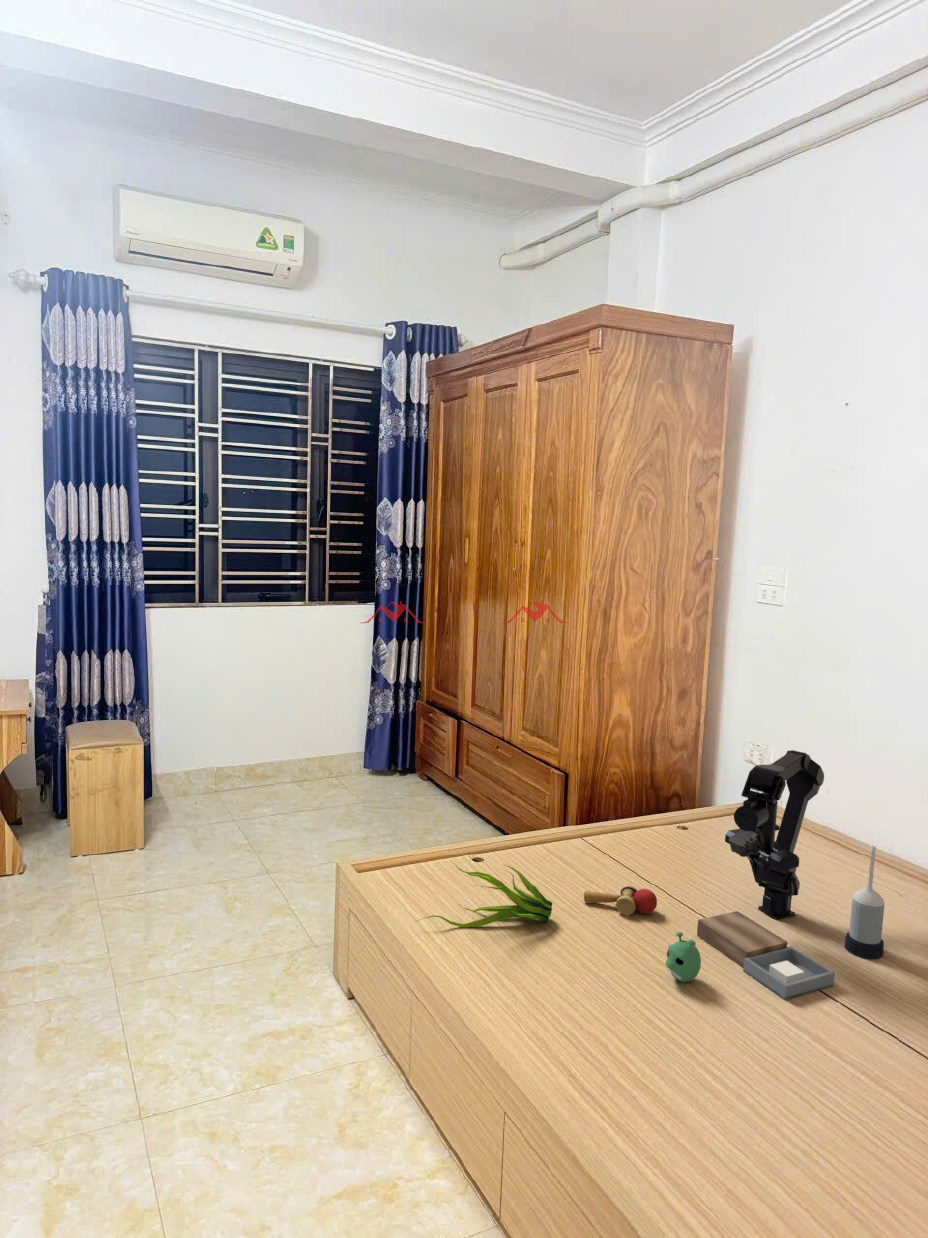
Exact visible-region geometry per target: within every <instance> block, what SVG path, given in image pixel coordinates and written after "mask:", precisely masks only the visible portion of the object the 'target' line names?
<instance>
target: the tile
mask: <svg viewBox="0 0 928 1238" xmlns="http://www.w3.org/2000/svg"><path fill="white" fill-rule="evenodd" d="M769 973H771V974H772V975H773V976H775V977H776V978H778V979H779V980H781V981H782V982H784V983H785V984H787V983H790V982H794V981H797V980H801V979H804V971H802V970H801V969H799V968H798V967H796V966H795V965H793V964H792V963H790V962H788V961H783V962H779V963H775V964H771V965H769Z"/></svg>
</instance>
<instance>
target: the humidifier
mask: <svg viewBox="0 0 928 1238" xmlns="http://www.w3.org/2000/svg"><path fill="white" fill-rule="evenodd" d="M876 850H877V849H876V846H875V845H872V847H871V855H870V863H869V869H868V870H869V872H868V873H869V874H868V882H867V886H866V888H862V889H860V890H857V891H856V892H855V893H854V894H853V895H852V896H853V897H852V901H851V902H852V903H851V911H850V920H849V921H850V922H849V931H848V932H846V935H845V941H844V948H846V949H845V950H846V951H847V952H848V953H849V954H851V955H853V956H856V957H858V958H861V959H865V960H878V959H881V958H883V956H884V947H885V944H884V940H883V939H882V934H883V922H884V914H885V900H884V897H882V896H881V894H879V893H878V892H877V891H875V889H873V883H874V869H875V860H876V859H875V858H876V857H875V856H876Z"/></svg>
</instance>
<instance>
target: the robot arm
mask: <svg viewBox="0 0 928 1238" xmlns="http://www.w3.org/2000/svg"><path fill="white" fill-rule="evenodd" d="M824 780H825V773H824V770H823V768H822V767H821V765H820V764H818V763H817V762H816V761H814V760H813V759H812V758H811V756H810V754H807V752H803V751H799V750H794V749H791V750H787V751H786V753H785V754H784V755H783V756H781V757H780V758H779V759H777V760H775V761H774V762H772V763H771V764H757V765H755V766H753V768H752V769H751V770H750V771H749V773H748V775H747V777H746V780H745V784H744V786H743V790H742V792H741V797H744V798H747V799H745V800H743V802H742V805H741V806H739V807H738V808H736V809H735V811H734V813H733V821H734V823H735V825H736V826H737V828H734V829H729V830H728V831H727V832H726V833H725V837H724V842H725V843H727V844H729V846H730V850H731V852H732V853H735V854H737V855H739V857H741V858H745V857H746V859H748V861H749V863H750V866H751V870H752V874H753V878H754V882H755V883H756V884H758V887H760V888H761V887H762V888H764V890H763V891H764V892H763V895H762V905H758V908H757V909H758V910H760V911H762V912H763V913H765V914H767V915H768V916H770V917H771V918H773V919H774V920H781V919H784V918H788V917H793V916H796V912H795V911H793V910H791V908H792V898H793V896H799V890H800V885H801V882H800V880H799V878H798V877H797V874H796V871H797V868H800V867H799V866H800V857H799V856H798V855H797V854H795V853H794V852H795V849H796V846H797V842H798V838H799V834H800V831H801V829H802V828H801V827H802V825H803V822H804V818H805V814H806V810H807V807H808V803H809V801H810V800H812V799H813V798H814V797H815V796H817V794H818V793H819V791H820V788H821V786H822V785H823V784H824ZM786 786H787V788H788V794H789V795H788V798H787V801H786V804H785V809H784V812H783V815H782V819H781V821H780V825H779V824H777V818H778V817H777V815H778V814H777V813H778V803H779V802H778V801H780V800H781V797H782V795H783V793H784V792H785V788H786ZM757 791H758V792H757ZM776 831H778V832H777V836H776ZM775 839H776V840H775Z"/></svg>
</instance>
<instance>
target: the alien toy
mask: <svg viewBox="0 0 928 1238" xmlns="http://www.w3.org/2000/svg"><path fill="white" fill-rule="evenodd" d="M675 937H678V940H676V941H675V942H673V944H668V947H667V949H668V950H667V951H666V956H667V957H666V961H665V966H666V967H667V968H668V969H669V971H670V974H671V976H672V977H673V978H674V979H675V980H677V981H680V982H683V983H684V982H685V983H687V982H691V981H693V980H695V978H696V977H697V976H698V974H699V973H700V970H701V967H702V960H701V958H702V957H701V954H700V951H699V949H698V947H697V946H696V942H695V940H693V939H689V940H684V939H682V937H684V933H683V932H682V931H677V932H676V934H675Z"/></svg>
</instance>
